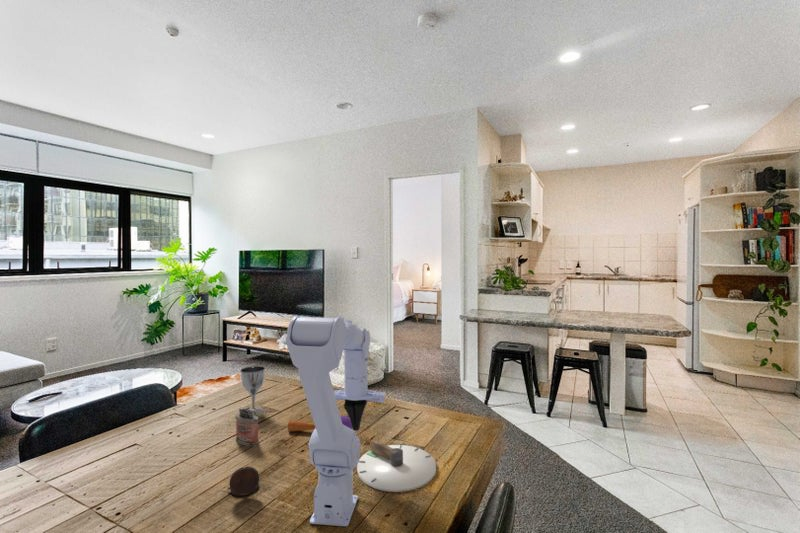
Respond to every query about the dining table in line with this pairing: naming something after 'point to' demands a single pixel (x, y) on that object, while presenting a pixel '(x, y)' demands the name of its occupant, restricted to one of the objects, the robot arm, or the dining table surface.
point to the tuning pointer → (387, 452)
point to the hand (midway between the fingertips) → (356, 428)
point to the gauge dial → (397, 470)
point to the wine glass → (253, 382)
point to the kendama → (307, 426)
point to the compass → (243, 481)
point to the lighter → (247, 427)
